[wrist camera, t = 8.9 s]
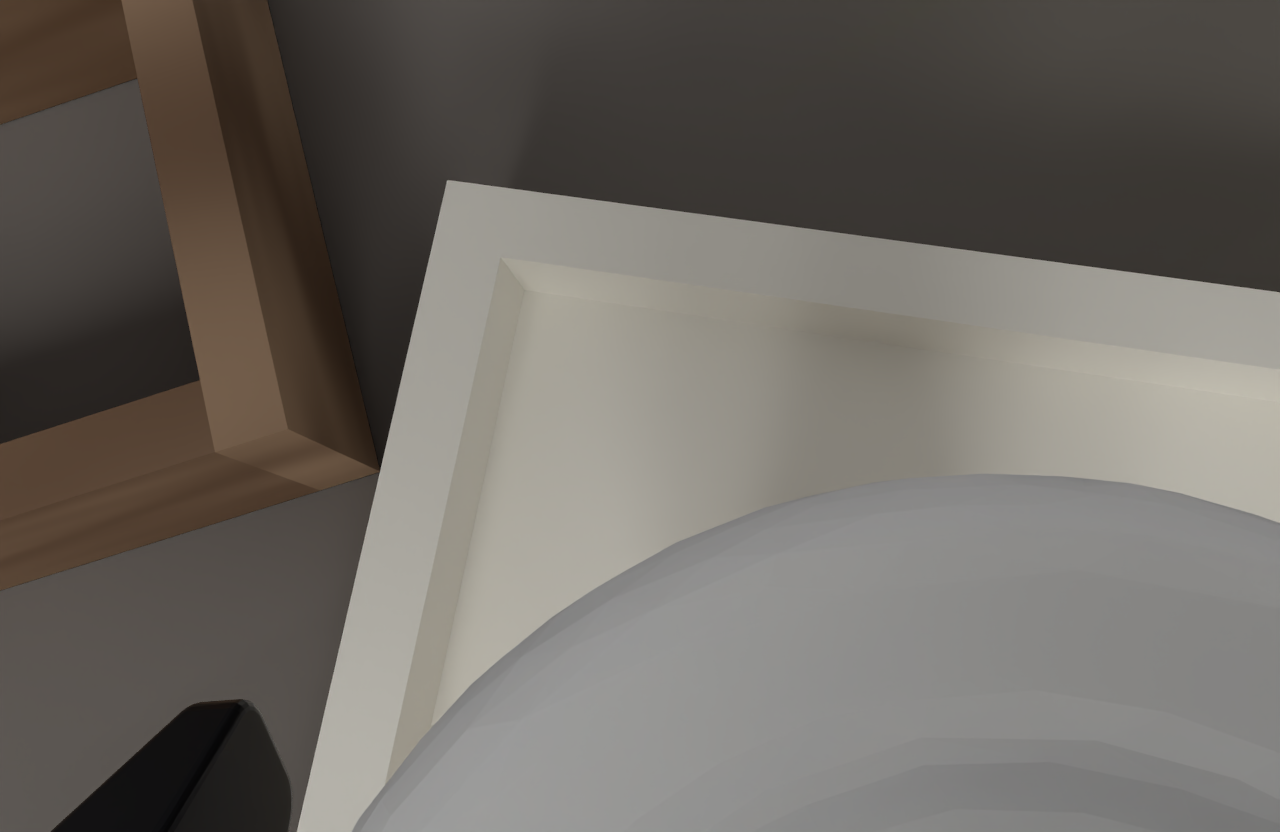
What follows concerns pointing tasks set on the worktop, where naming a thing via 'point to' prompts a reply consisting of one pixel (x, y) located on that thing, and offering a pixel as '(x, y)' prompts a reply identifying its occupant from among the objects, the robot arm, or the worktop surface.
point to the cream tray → (736, 416)
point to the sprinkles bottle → (890, 675)
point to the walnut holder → (191, 291)
